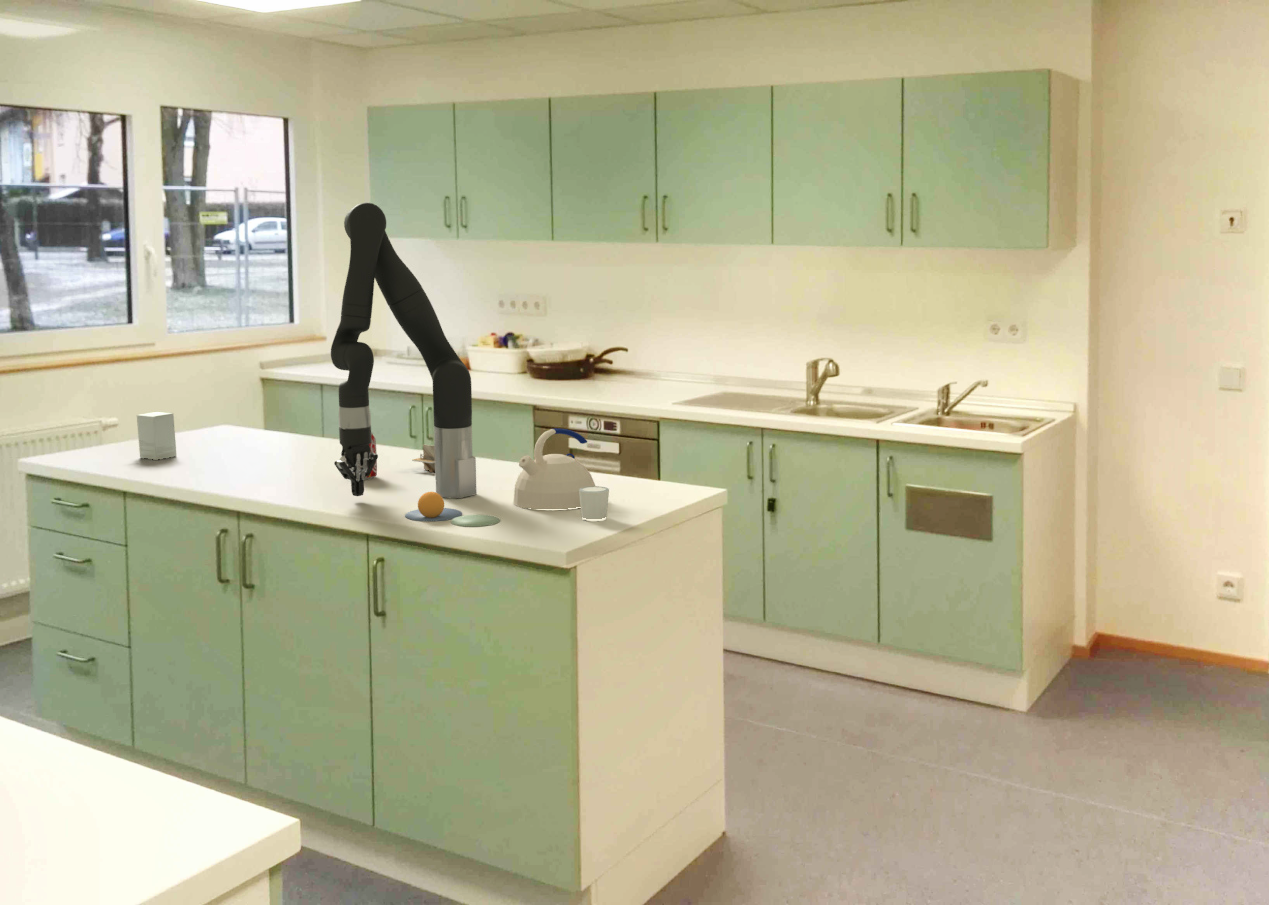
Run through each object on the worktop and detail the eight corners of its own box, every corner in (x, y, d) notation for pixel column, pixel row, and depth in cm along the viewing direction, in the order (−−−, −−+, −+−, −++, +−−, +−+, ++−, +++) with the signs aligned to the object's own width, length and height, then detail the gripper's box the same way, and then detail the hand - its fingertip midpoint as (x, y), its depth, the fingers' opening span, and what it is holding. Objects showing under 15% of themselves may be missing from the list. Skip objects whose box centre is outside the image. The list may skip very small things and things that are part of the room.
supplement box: (177, 456, 375) (174, 413, 373) (155, 460, 369) (152, 416, 367) (160, 454, 379) (157, 411, 377) (138, 458, 373) (135, 414, 370)
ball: (433, 486, 302) (431, 510, 303) (413, 491, 297) (411, 515, 299) (450, 493, 298) (448, 518, 300) (430, 498, 294) (428, 523, 295)
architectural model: (432, 475, 349) (431, 448, 348) (412, 473, 353) (411, 445, 351) (440, 473, 352) (440, 446, 351) (421, 470, 355) (420, 444, 354)
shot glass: (573, 519, 297) (572, 489, 296) (592, 514, 302) (592, 484, 301) (596, 523, 293) (596, 493, 291) (615, 518, 298) (615, 488, 297)
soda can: (371, 481, 340) (369, 435, 338) (345, 480, 341) (343, 434, 339) (381, 475, 347) (379, 431, 344) (356, 474, 348) (354, 430, 346)
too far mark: (509, 519, 297) (509, 519, 296) (475, 529, 288) (475, 528, 288) (475, 513, 303) (475, 512, 303) (440, 522, 295) (440, 521, 295)
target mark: (473, 513, 303) (473, 512, 303) (432, 524, 293) (432, 523, 293) (434, 506, 311) (434, 505, 311) (393, 516, 301) (393, 515, 301)
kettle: (494, 502, 315) (493, 428, 312) (559, 489, 329) (558, 419, 326) (549, 516, 301) (548, 438, 298) (614, 502, 315) (614, 428, 312)
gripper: (362, 419, 320) (365, 488, 323) (323, 427, 309) (326, 498, 312) (385, 422, 316) (388, 492, 319) (346, 429, 305) (349, 502, 308)
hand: (357, 495), depth 316 cm, fingers closed
